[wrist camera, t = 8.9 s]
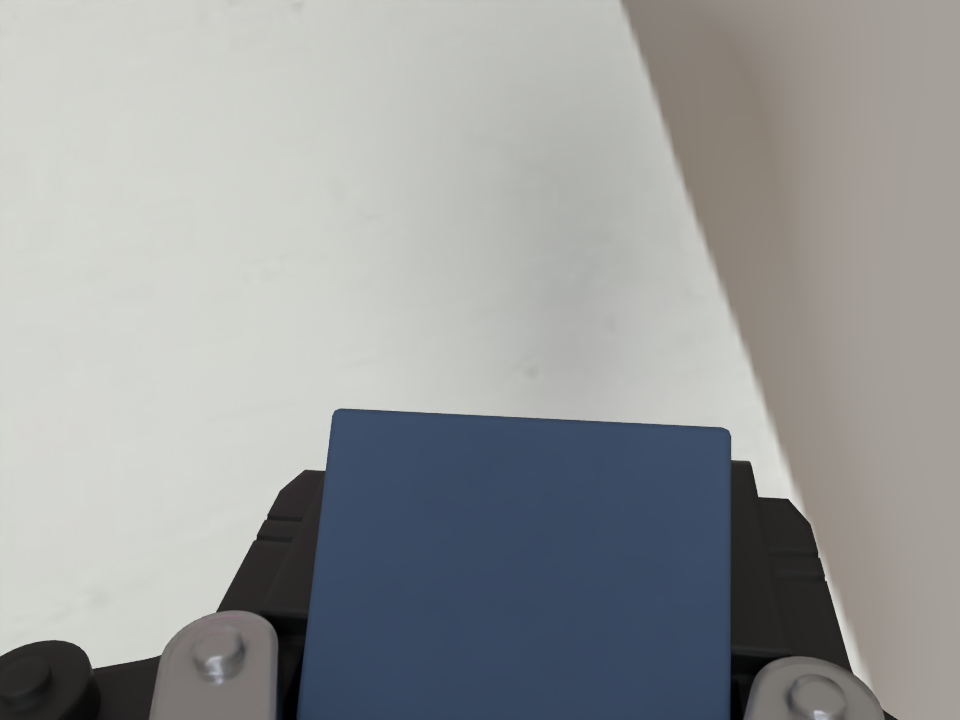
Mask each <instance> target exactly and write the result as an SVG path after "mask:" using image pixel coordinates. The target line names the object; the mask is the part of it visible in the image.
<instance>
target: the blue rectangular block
mask: <svg viewBox="0 0 960 720" xmlns="http://www.w3.org/2000/svg"><path fill="white" fill-rule="evenodd" d="M296 720H731V435H730V433H729V430H727V429H724V428H721V427H701V426H681V425H661V424H641V423H621V422H601V421H581V420H561V419H541V418H521V417H501V416H481V415H461V414H441V413H421V412H401V411H381V410H361V409H338V410H335V411H334V414H333V416H332V423H331V431H330V439H329V448H328V456H327V464H326V473H325V481H324V489H323V498H322V506H321V514H320V523H319V531H318V539H317V548H316V556H315V564H314V572H313V581H312V589H311V597H310V606H309V614H308V622H307V631H306V639H305V647H304V656H303V664H302V672H301V681H300V689H299V697H298V706H297V714H296Z"/></svg>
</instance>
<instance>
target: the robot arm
mask: <svg viewBox="0 0 960 720" xmlns="http://www.w3.org/2000/svg"><path fill="white" fill-rule="evenodd" d="M325 473H326V470H325V471H316V470H304V471H303V472H302V473H301V474H300V475H298V476H297V477H296V478H295V479H294V480H292V481H291V482H290V483H289V484H288V485H286V486H285V487H284V488H283V489H282V490H280V492H279V494H278V496H277V498H276V500H275V502H274V504H273V505H272V507H271V509H270V511H269V513H268V515H267V516H268V517H267V520H265V521H264V522H263V524H262V526H261V528H260V530H259V532H258V534H257V540H254V541H253V543H252V545H251V547H250V549H249V551H248V553H247V555H246V557H245V558H244V560H243V562H242V564H241V566H240V568H239V570H238V572H237V574H236V575H235V577H234V579H233V581H232V583H231V585H230V587H229V589H228V591H227V592H226V594H225V596H224V598H223V600H222V602H221V604H220V606H219V608H218V610H217V611H216V613H213V614H210V615H207V616H204V617H202V618H200V619H197V620H195V621H194V622H192V623H190V624H189V625H187V626H185V627H184V628H183V629H182V630H180V631H179V632H178V633H177V634H176V635H175V636H174V637H173V638H172V639H171V640H170V641H169V643H168V644H167V645H166V647H165V649H164V651H163V653H162V655H160V656H157V657H154V658H149V659H145V660H140V661H134V662H129V663H123V664H118V665H112V666H107V667H101V668H96V669H92V667H91V664H90V661H89V658H88V656H87V655H86V653H85V652H84V651H83V650H82V649H81V648H80V647H78V646H76V645H75V644H72V643H69V642H66V641H58V640H50V641H41V642H35V643H31V644H27V645H24V646H22V647H19V648H16V649H14V650H12V651H10V652H8V653H6V654H4V655H2V656H1V657H0V720H296V714H297V706H298V697H299V689H300V681H301V672H302V664H303V656H304V647H305V639H306V631H307V622H308V614H309V606H310V597H311V589H312V581H313V572H314V564H315V556H316V548H317V539H318V531H319V523H320V514H321V506H322V498H323V489H324V481H325ZM731 720H897V719H896V718H894V717H893V716H891V715H890V714H888V713H887V712H885V711H884V710H883V709H882V708H881V705H880V703H879V701H878V699H877V698H876V696H875V695H874V694H873V692H872V691H871V690H870V689H869V688H868V686H867V685H866V684H865V683H864V682H862V681H861V680H860V679H859V678H858V677H856V676H855V675H854V674H853V672H852V669H851V666H850V663H849V659H848V656H847V652H846V649H845V645H844V642H843V638H842V634H841V631H840V627H839V624H838V620H837V617H836V613H835V610H834V606H833V603H832V599H831V595H830V592H829V588H828V585H827V581H825V574H824V571H823V567H822V564H821V560H820V558H818V549H817V546H816V542H815V539H814V535H813V532H812V528H811V525H810V523H809V522H808V521H807V520H806V519H805V518H804V516H803V515H802V514H801V513H800V512H799V511H798V510H797V509H796V507H795V506H794V505H793V504H792V503H791V502H790V501H789V500H788V499H780V498H763V497H758V493H757V489H756V484H755V479H754V475H753V470H752V466H751V463H750V462H749V461H737V460H731Z"/></svg>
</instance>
